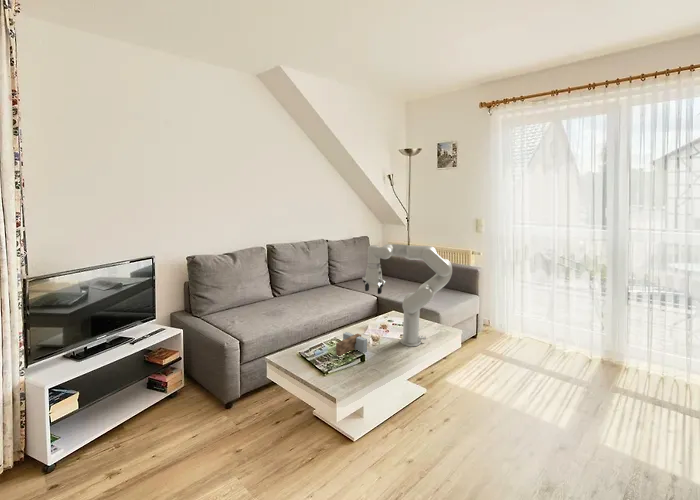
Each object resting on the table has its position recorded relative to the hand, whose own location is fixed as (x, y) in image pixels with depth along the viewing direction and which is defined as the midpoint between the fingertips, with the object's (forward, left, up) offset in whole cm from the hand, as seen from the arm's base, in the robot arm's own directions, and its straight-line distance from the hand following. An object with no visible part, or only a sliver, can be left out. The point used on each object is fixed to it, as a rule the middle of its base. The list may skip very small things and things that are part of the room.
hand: (373, 292), depth 243 cm
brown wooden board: (+18, +17, -30) cm, 39 cm away
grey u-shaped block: (+14, +14, -30) cm, 36 cm away
